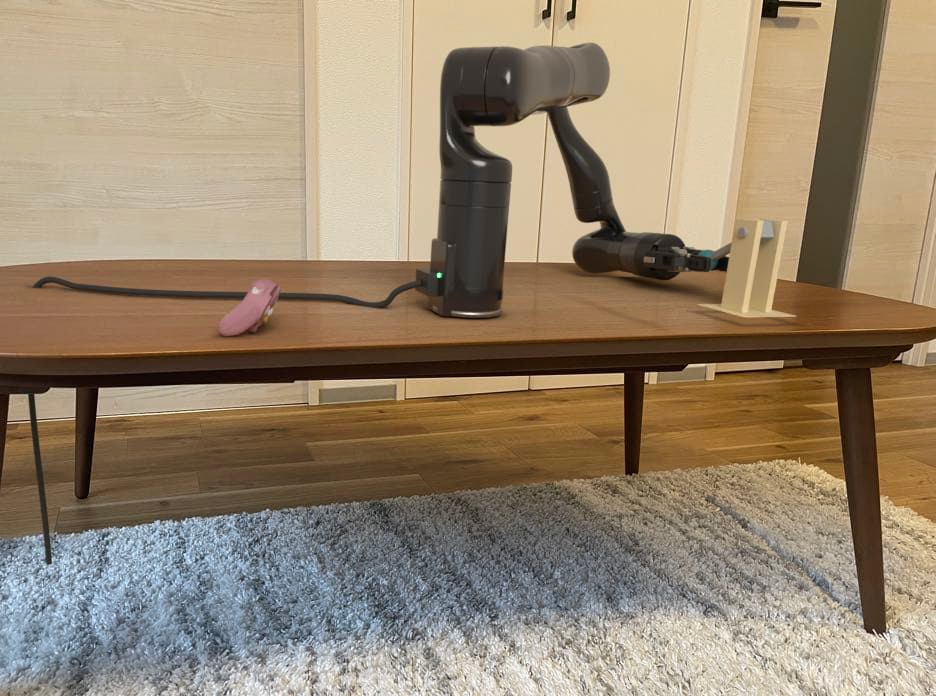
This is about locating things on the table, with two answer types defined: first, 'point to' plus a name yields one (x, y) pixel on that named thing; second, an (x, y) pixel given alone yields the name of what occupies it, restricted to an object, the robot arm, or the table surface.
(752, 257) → the bracket
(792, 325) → the table surface
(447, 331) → the table surface
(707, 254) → the lever
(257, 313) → the pink rounded piece
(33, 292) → the table surface
